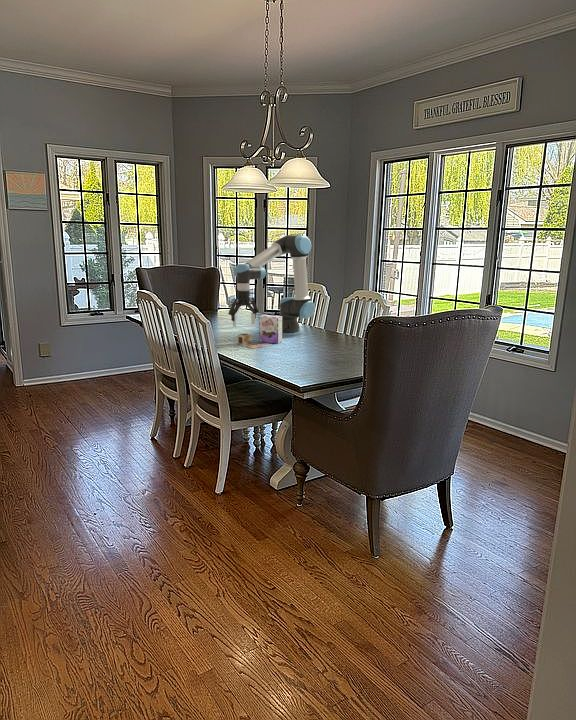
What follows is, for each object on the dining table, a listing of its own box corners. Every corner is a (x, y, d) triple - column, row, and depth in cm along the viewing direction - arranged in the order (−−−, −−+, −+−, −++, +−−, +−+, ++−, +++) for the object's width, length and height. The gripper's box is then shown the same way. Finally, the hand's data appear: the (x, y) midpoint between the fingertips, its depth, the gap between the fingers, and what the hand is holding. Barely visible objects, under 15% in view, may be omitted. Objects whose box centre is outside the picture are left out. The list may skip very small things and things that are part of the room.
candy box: (258, 342, 331) (258, 315, 327) (263, 340, 336) (263, 314, 332) (278, 344, 325) (277, 317, 321) (282, 342, 330) (282, 316, 326)
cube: (246, 342, 329) (245, 333, 328) (251, 344, 324) (251, 334, 323) (237, 344, 325) (237, 334, 324) (243, 345, 321) (242, 335, 319)
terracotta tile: (255, 345, 321) (255, 344, 321) (261, 347, 316) (261, 346, 316) (245, 346, 317) (245, 346, 317) (252, 348, 312) (252, 348, 312)
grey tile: (266, 343, 326) (266, 342, 326) (272, 345, 321) (272, 344, 321) (256, 345, 322) (256, 344, 322) (263, 347, 316) (263, 346, 316)
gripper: (257, 288, 327) (257, 322, 332) (222, 290, 312) (223, 326, 317) (264, 289, 322) (264, 324, 326) (228, 291, 307) (229, 328, 312)
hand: (243, 325), depth 322 cm, fingers open, 13 cm apart
